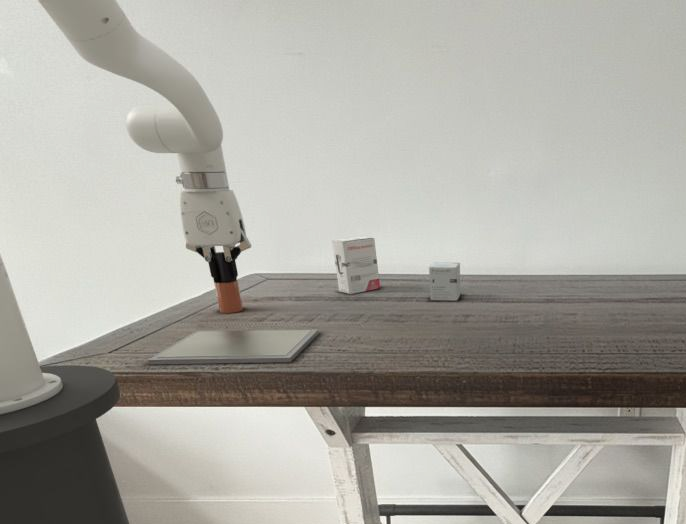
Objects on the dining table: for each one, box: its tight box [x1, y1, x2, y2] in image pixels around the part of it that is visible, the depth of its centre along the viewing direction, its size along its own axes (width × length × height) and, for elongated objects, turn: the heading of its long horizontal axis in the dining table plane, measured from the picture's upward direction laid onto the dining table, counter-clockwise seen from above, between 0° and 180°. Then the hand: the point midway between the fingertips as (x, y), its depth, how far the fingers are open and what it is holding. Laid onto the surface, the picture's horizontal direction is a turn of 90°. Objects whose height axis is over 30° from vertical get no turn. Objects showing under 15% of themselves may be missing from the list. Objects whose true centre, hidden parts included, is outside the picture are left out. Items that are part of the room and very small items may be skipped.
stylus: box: [215, 251, 229, 283], centre depth 111 cm, size 2×2×11 cm
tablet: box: [147, 328, 320, 365], centre depth 90 cm, size 15×21×1 cm
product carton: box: [428, 261, 461, 302], centre depth 121 cm, size 6×6×7 cm
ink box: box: [331, 236, 381, 295], centre depth 128 cm, size 9×5×12 cm, turn 139°
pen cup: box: [213, 279, 244, 314], centre depth 112 cm, size 4×4×6 cm
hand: (225, 280), depth 111 cm, fingers closed on stylus, 2 cm apart
